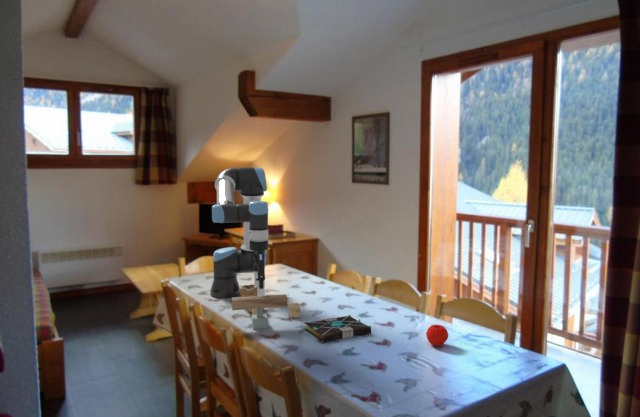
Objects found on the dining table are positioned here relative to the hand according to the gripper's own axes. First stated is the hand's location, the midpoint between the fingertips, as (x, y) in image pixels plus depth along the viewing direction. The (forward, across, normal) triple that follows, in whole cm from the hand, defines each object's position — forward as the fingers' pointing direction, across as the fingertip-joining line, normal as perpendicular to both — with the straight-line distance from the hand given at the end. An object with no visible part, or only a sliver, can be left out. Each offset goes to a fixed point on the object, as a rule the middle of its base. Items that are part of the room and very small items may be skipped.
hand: (259, 291), depth 194 cm
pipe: (+15, -24, -2) cm, 28 cm away
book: (+15, +14, +29) cm, 36 cm away
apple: (+14, +36, +61) cm, 72 cm away
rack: (+14, -9, +8) cm, 19 cm away
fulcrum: (+14, +1, 0) cm, 14 cm away
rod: (+6, 0, 0) cm, 6 cm away
